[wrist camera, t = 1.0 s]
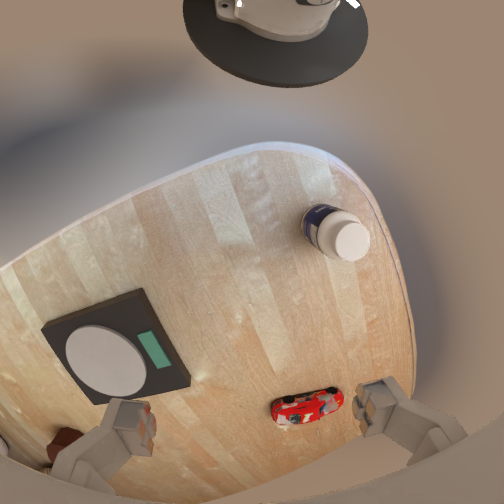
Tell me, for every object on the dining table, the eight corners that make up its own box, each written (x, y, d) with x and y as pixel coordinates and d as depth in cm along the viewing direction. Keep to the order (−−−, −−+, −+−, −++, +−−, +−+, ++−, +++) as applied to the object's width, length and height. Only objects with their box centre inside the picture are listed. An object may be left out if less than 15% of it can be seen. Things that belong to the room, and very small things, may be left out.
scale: (47, 322, 35) (38, 332, 32) (142, 287, 35) (136, 297, 32) (97, 396, 39) (93, 408, 36) (191, 376, 40) (190, 389, 37)
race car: (343, 383, 45) (351, 397, 41) (338, 403, 46) (346, 417, 42) (270, 396, 43) (274, 413, 39) (270, 416, 45) (274, 432, 41)
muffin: (86, 426, 42) (73, 461, 32) (109, 455, 45) (101, 488, 35) (46, 421, 41) (32, 451, 31) (70, 449, 44) (60, 479, 34)
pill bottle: (335, 199, 35) (374, 210, 26) (341, 238, 37) (378, 261, 27) (296, 208, 35) (325, 222, 25) (303, 248, 36) (332, 275, 27)
